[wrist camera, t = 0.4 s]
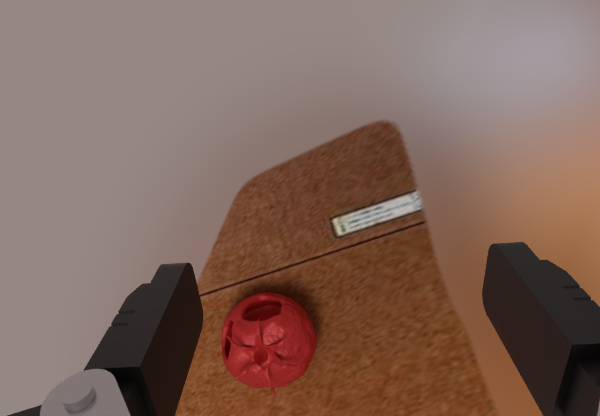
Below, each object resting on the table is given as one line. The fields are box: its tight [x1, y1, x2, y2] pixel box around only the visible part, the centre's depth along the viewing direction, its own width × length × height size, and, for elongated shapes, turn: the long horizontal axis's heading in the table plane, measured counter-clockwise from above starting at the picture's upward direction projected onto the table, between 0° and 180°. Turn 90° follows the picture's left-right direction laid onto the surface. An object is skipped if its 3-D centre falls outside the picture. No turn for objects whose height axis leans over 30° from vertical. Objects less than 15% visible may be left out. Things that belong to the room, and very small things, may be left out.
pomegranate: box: [221, 292, 317, 397], centre depth 42 cm, size 10×10×9 cm
